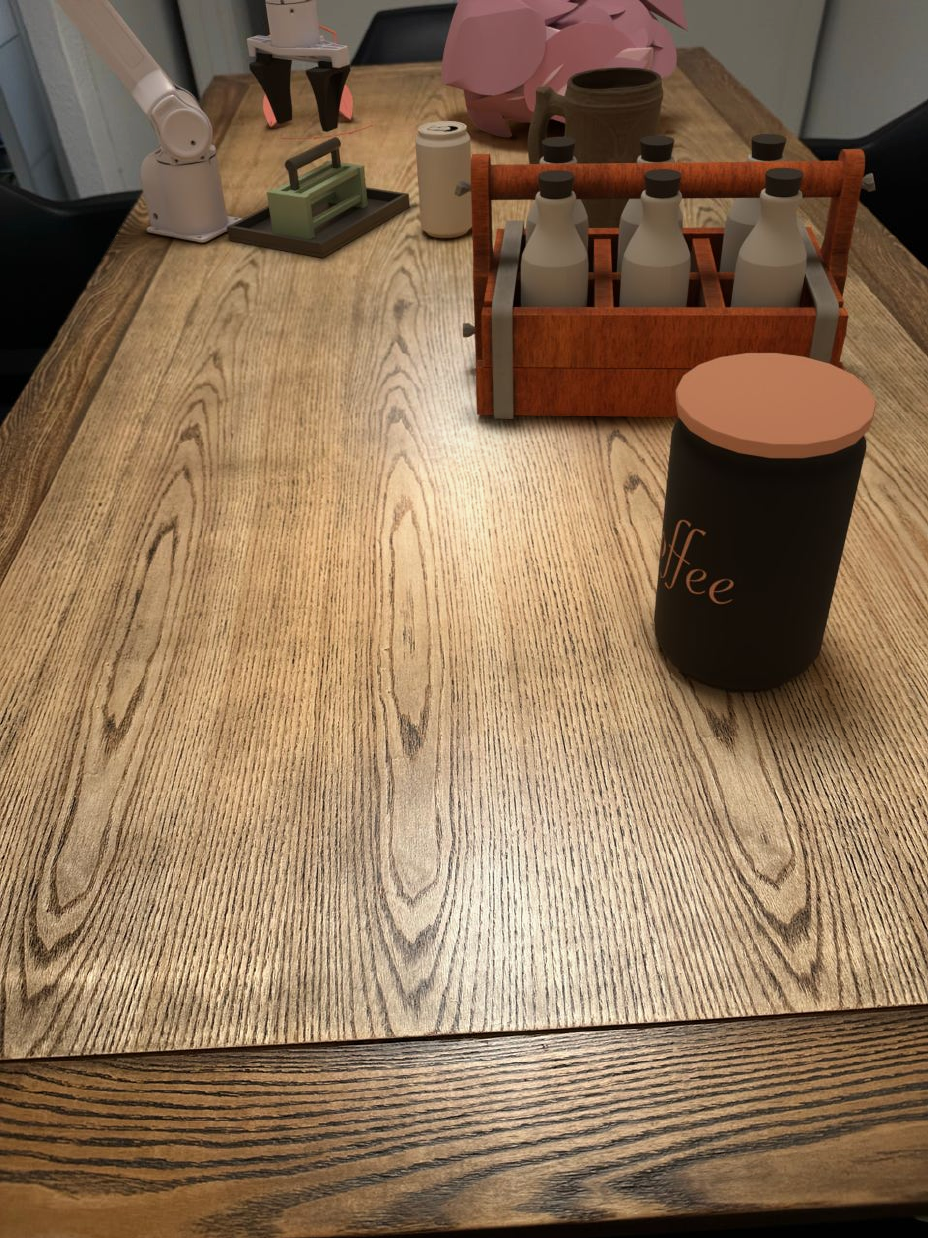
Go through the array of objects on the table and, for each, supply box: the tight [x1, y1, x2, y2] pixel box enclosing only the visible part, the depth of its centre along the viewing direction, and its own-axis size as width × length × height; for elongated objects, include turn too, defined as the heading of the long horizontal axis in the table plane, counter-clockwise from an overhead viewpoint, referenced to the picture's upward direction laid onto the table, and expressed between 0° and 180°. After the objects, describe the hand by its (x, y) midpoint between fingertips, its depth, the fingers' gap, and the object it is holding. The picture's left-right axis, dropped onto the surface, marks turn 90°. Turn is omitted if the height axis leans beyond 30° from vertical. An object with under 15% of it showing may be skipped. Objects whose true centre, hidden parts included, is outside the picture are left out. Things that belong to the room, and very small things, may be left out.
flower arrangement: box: [440, 0, 689, 138], centre depth 155 cm, size 35×24×28 cm
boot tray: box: [226, 186, 411, 259], centre depth 134 cm, size 14×19×2 cm
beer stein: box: [527, 67, 665, 228], centre depth 115 cm, size 15×11×20 cm
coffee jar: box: [653, 353, 877, 693], centre depth 64 cm, size 11×11×18 cm
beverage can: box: [414, 120, 472, 239], centre depth 127 cm, size 6×6×12 cm
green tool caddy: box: [266, 136, 368, 239], centre depth 132 cm, size 6×13×8 cm, turn 152°
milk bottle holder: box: [454, 133, 876, 420], centre depth 94 cm, size 21×35×19 cm, turn 85°
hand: (307, 125), depth 132 cm, fingers open, 7 cm apart
